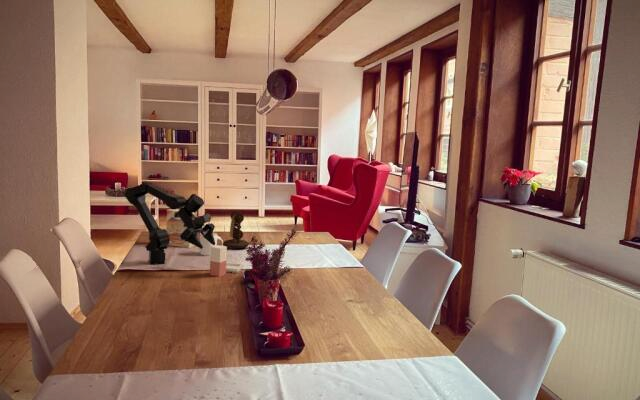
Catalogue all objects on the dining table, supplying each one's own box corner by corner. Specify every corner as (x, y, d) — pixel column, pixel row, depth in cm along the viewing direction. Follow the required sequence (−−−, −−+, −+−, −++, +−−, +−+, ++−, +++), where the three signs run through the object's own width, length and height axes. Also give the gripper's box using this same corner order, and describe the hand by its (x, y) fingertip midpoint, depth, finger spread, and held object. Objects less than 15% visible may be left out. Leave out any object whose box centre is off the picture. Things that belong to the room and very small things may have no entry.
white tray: (216, 271, 220) (216, 267, 220) (222, 265, 230) (223, 262, 230) (237, 273, 219) (237, 269, 219) (243, 267, 229) (243, 264, 229)
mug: (224, 255, 252) (225, 234, 250) (201, 256, 247) (201, 235, 245) (220, 251, 259) (221, 231, 258) (197, 252, 254) (198, 232, 253)
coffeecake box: (165, 244, 267) (166, 209, 265) (172, 242, 274) (173, 208, 272) (189, 248, 263) (190, 212, 261) (196, 245, 270) (197, 210, 268)
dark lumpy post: (219, 245, 275) (221, 210, 273) (245, 244, 281) (246, 210, 279) (226, 250, 262) (227, 214, 260) (252, 249, 268) (254, 214, 266)
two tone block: (209, 274, 214) (210, 246, 213) (216, 272, 219) (217, 245, 217) (219, 276, 212) (220, 248, 211) (225, 274, 217) (226, 246, 216)
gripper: (186, 210, 208) (206, 238, 205) (212, 205, 225) (231, 232, 222) (171, 226, 212) (191, 254, 209) (197, 220, 229) (216, 247, 226)
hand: (208, 246), depth 216 cm, fingers open, 9 cm apart
